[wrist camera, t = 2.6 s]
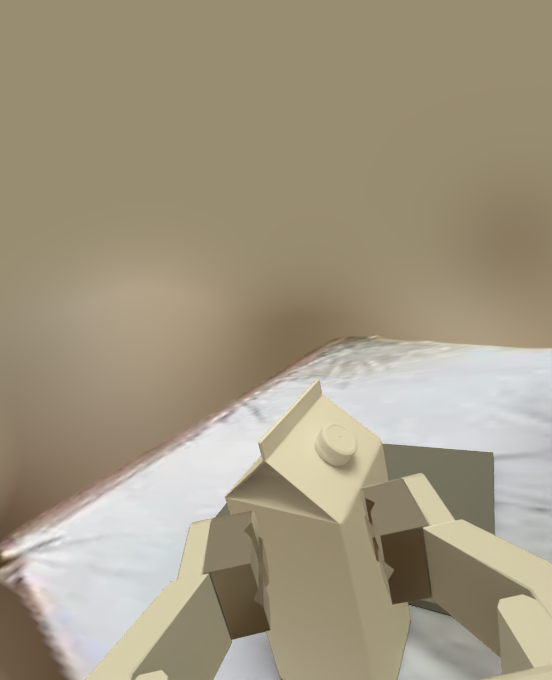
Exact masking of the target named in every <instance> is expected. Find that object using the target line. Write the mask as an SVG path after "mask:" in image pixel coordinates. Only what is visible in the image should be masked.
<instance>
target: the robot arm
mask: <svg viewBox="0 0 552 680" xmlns="http://www.w3.org/2000/svg"><path fill="white" fill-rule="evenodd" d="M360 494H361V500H362V504H363V506H364V509H365V512H366V516H365V521H366V526H367V531H368V535H369V539H370V542H371V546H372V549H373V552H374V555H375V558H376V560H377V561H378V562H380V567H381V572H382V577H383V580H384V583H385V586H386V588H387V591H388V594H389V597H390V599H391V602H392V605H393V604H398V603H404V602H410V601H415V600H421V599H426V598H432V599H433V600H434V601H435V602H436V603H437V604H438V605H439V606H441V607H442V608H443V609H444V610H445V611H447V612H448V613H449V614H450V615H451V616H452V617H454V618H455V619H456V620H457V621H458V622H459V623H461V624H462V625H463V626H464V627H465V628H466V629H468V630H469V631H470V632H471V633H472V634H473V635H475V636H476V637H477V638H478V639H479V640H480V641H482V642H483V643H484V644H485V645H486V646H487V647H489V648H490V649H491V650H492V651H493V652H494V653H496V654H497V655H498V656H499V657H500V658H501V665H502V675H497V676H492V677H488V678H483V679H478V680H552V563H550V562H548V561H546V560H543V559H541V558H539V557H537V556H535V555H533V554H531V553H529V552H527V551H525V550H523V549H521V548H519V547H517V546H515V545H513V544H511V543H509V542H507V541H505V540H503V539H501V538H499V537H497V536H495V535H493V534H491V533H489V532H487V531H485V530H483V529H481V528H479V527H477V526H475V525H473V524H471V523H469V522H467V521H465V520H463V519H461V520H456V521H455V519H454V518H453V516H452V515H451V513H450V512H449V510H448V509H447V507H446V506H445V504H444V503H443V501H442V500H441V499H440V497H439V496H438V494H437V493H436V491H435V490H434V488H433V487H432V485H431V484H430V482H429V481H428V480H427V478H426V477H425V475H424V474H422V473H418V474H414V475H410V476H406V477H402V478H400V479H396V480H391V481H387V482H382V483H378V484H373V485H369V486H364V487H360ZM268 584H269V571H268V563H267V556H266V551H265V547H264V543H263V539H262V538H260V537H259V536H258V522H257V518H256V515H255V513H254V511H253V510H252V511H247V512H242V513H237V514H231V515H226V516H221V517H216V518H213V519H207V520H202V521H197V522H193V523H192V524H191V525H190V527H189V530H188V534H187V539H186V543H185V547H184V552H183V556H182V560H181V565H180V569H179V573H178V578H177V580H175V581H171V582H170V583H169V584H168V585H167V586H166V587H165V589H164V590H163V591H162V592H161V593H160V594H159V595H158V597H157V598H156V599H155V600H154V601H153V602H152V603H151V605H150V606H149V607H148V608H147V609H146V610H145V612H144V613H143V614H142V615H141V616H140V617H139V618H138V620H137V621H136V622H135V623H134V624H133V625H132V626H131V628H130V629H129V630H128V631H127V632H126V633H125V635H124V636H123V637H122V638H121V639H120V640H119V641H118V643H117V644H116V645H115V646H114V647H113V648H112V649H111V651H110V652H109V653H108V654H107V655H106V656H105V658H104V659H103V660H102V661H101V662H100V663H99V664H98V666H97V667H96V668H95V669H94V670H93V671H92V672H91V674H90V675H89V676H88V677H87V678H86V679H85V680H213V679H214V677H215V675H216V673H217V671H218V669H219V667H220V665H221V663H222V661H223V659H224V658H225V656H226V654H227V652H228V650H229V648H230V646H231V644H232V641H231V640H232V639H237V638H241V637H245V636H249V635H253V634H257V633H261V632H265V631H269V630H270V600H269V597H268V593H267V590H266V587H267V586H268Z"/></svg>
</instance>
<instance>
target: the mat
mask: <svg viewBox="0 0 552 680" xmlns="http://www.w3.org/2000/svg"><path fill="white" fill-rule="evenodd" d="M382 446H383V451H384V457H385V463H386V469H387V475H388V481H391V480H396V479H400V478H402V477H406V476H410V475H414V474H418V473H422V474H424V475H425V477H426V478H427V480H428V481H429V482H430V484H431V485H432V487H433V488H434V490H435V491H436V493H437V494H438V496H439V497H440V499H441V500H442V501H443V503H444V504H445V506H446V507H447V509H448V510H449V512H450V513H451V515H452V516H453V518H454V519H455V521H456V520H461V519H463V520H465V521H467V522H469V523H471V524H473V525H475V526H477V527H479V528H481V529H483V530H485V531H487V532H489V533H491V534H493V535H494V458H493V453H492V452H479V451H467V450H454V449H442V448H430V447H417V446H405V445H392V444H382ZM226 515H230V512H229V508H228V505H227V503H226V505H225V506H224V507H223V508H222V510H221V511H220V512H219V513H218V515H217V516H216V517H221V516H226ZM216 517H215V518H216ZM408 604H411V605H414V606H418V607H422V608H425V609H429V610H433V611H436V612H440V613H443V614H447V615H450V614H449V613H448V612H447V611H445V610H444V609H443V608H442V607H441V606H439V605H438V604H437V603H436V602H435V601H434V600H433V599H432V598H426V599H421V600H415V601H410V602H408Z"/></svg>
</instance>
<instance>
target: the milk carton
mask: <svg viewBox="0 0 552 680" xmlns="http://www.w3.org/2000/svg"><path fill="white" fill-rule="evenodd" d="M258 444H259V448H260V452H261V456H260V458H259V459H258V460H257V461H256V462H255V463H254V464H253V465H252V467H251V468H250V469H249V470H248V471H247V472H246V473H245V475H244V476H243V477H242V478H241V479H240V480H239V481H238V482H237V484H236V485H235V486H234V487H233V488H232V489H231V490H230V492H229V493H228V494H227V495H226V496H225V499H226V502H227V505H228V508H229V512H230V515H231V514H237V513H242V512H247V511H252V510H253V511H254V513H255V515H256V518H257V522H258V536H259V537H260V538H262V539H263V543H264V547H265V551H266V556H267V563H268V571H269V584H268V586H267V587H266V590H267V593H268V597H269V600H270V630H269V631H266V632H267V636H268V639H269V642H270V646H271V649H272V652H273V655H274V659H275V662H276V665H277V668H278V672H279V675H280V678H281V679H283V680H397V677H398V673H399V669H400V664H401V660H402V656H403V651H404V647H405V643H406V639H407V634H408V630H409V625H410V612H409V606H408V602H404V603H398V604H393V605H392V602H391V599H390V597H389V594H388V591H387V588H386V586H385V583H384V580H383V577H382V572H381V567H380V562H378V561H377V560H376V558H375V555H374V552H373V549H372V546H371V542H370V539H369V535H368V531H367V526H366V521H365V516H366V512H365V509H364V506H363V504H362V500H361V494H360V487H364V486H369V485H373V484H378V483H382V482H387V481H388V475H387V469H386V463H385V457H384V451H383V446H382V442H381V439H380V438H379V437H378V436H376V435H375V434H374V433H372V432H371V431H370V430H368V429H367V428H366V427H364V426H363V425H362V424H361V423H359V422H358V421H357V420H355V419H354V418H353V417H351V416H350V415H349V414H347V413H346V412H345V411H343V410H342V409H341V408H340V407H338V406H337V405H336V404H334V403H333V402H332V401H330V400H329V399H328V398H326V397H325V396H324V395H322V390H321V385H320V381H319V380H316V381H315V382H314V383H313V384H312V385H311V386H310V387H309V388H308V389H307V390H306V391H305V392H304V393H303V394H302V396H301V397H300V398H299V399H298V400H297V401H296V402H295V403H294V404H293V405H292V406H291V407H290V408H289V409H288V410H287V412H286V413H285V414H284V415H283V416H282V417H281V418H280V419H279V420H278V421H277V422H276V423H275V424H274V425H273V426H272V428H271V429H270V430H269V431H268V432H267V433H266V434H265V435H264V436H263V437H262V438H261V439H260V440H259V441H258Z"/></svg>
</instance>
